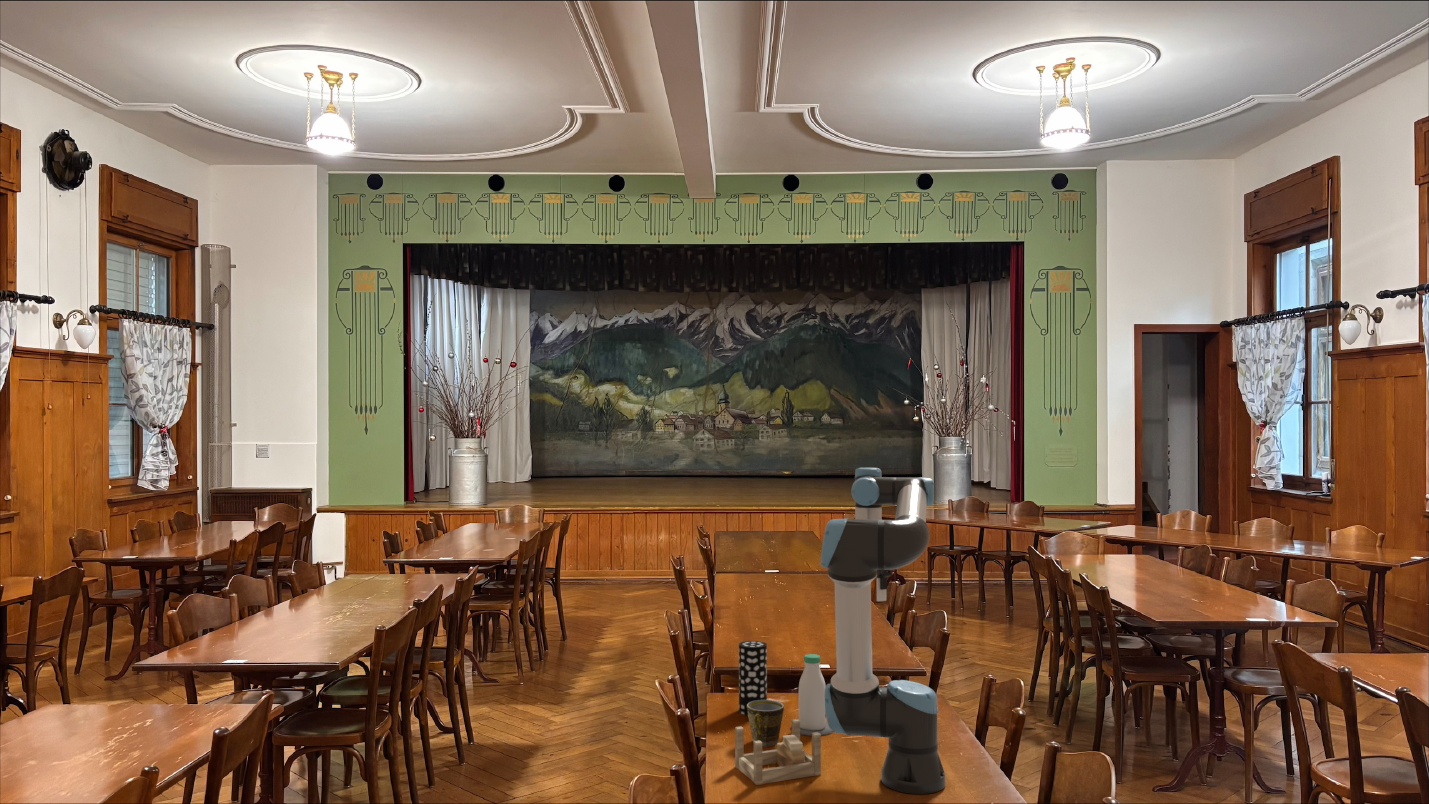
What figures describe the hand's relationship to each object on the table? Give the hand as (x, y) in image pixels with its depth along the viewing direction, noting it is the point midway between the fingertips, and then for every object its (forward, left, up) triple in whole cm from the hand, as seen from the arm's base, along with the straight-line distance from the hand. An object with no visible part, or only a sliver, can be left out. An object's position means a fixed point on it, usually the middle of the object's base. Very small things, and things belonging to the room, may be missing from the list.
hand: (868, 596), depth 273 cm
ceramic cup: (-2, +34, -37) cm, 50 cm away
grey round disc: (+4, +16, -37) cm, 40 cm away
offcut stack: (-21, +35, -37) cm, 55 cm away
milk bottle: (+4, +16, -36) cm, 40 cm away
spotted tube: (+25, +25, -37) cm, 51 cm away
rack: (-21, +39, -37) cm, 58 cm away
